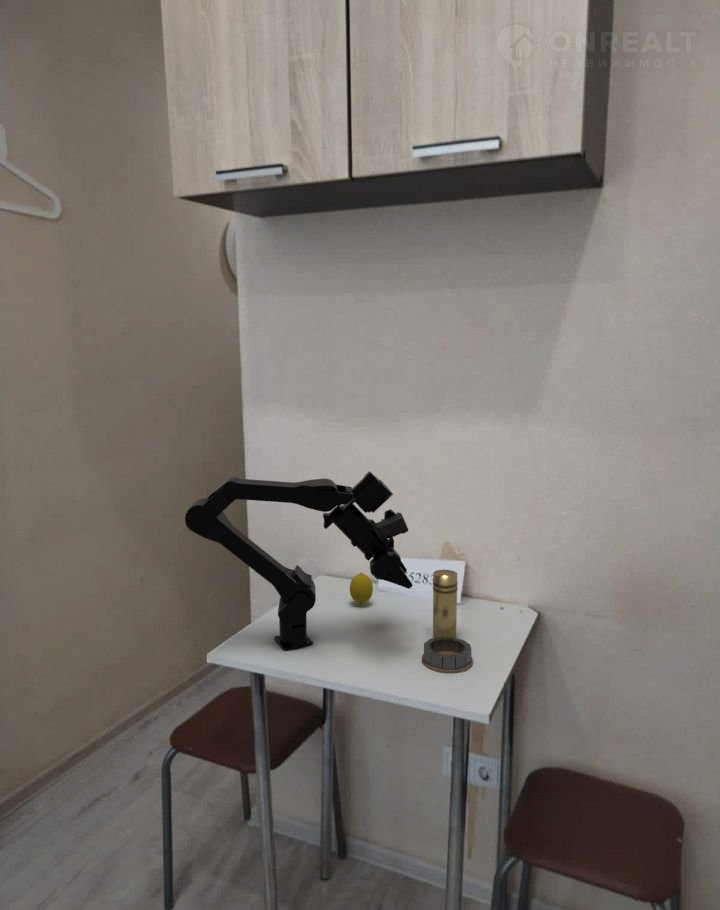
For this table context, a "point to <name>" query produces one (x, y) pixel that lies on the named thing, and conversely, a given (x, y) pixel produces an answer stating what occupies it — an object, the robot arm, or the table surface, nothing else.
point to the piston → (444, 603)
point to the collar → (447, 660)
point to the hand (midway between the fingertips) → (408, 579)
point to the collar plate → (446, 670)
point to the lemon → (361, 588)
